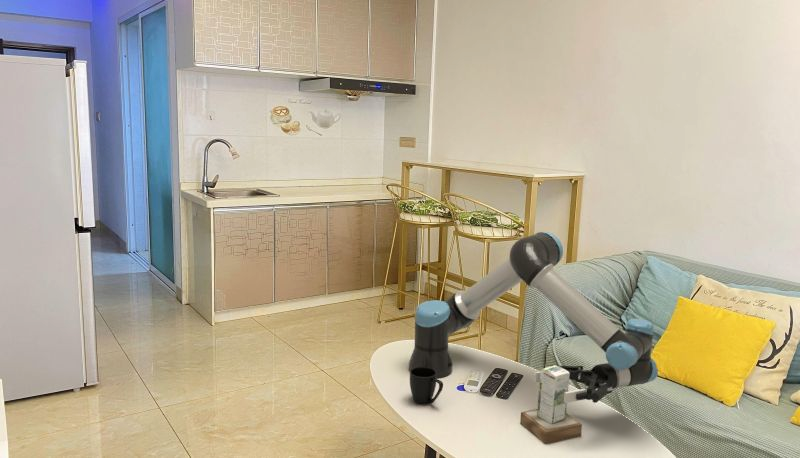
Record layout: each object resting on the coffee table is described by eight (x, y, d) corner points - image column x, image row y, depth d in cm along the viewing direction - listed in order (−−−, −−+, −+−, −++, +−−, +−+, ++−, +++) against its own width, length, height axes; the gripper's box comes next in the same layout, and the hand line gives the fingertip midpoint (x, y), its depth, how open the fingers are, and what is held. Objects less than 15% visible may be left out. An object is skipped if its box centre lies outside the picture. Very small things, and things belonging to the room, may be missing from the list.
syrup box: (550, 411, 175) (553, 363, 172) (566, 419, 170) (570, 371, 167) (536, 416, 172) (539, 368, 169) (552, 425, 167) (556, 375, 164)
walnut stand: (520, 423, 175) (521, 411, 174) (554, 416, 179) (555, 404, 179) (545, 444, 164) (546, 431, 163) (581, 436, 169) (582, 423, 168)
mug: (430, 414, 179) (431, 384, 177) (403, 399, 188) (404, 370, 186) (449, 406, 184) (451, 377, 182) (423, 392, 193) (423, 364, 191)
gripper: (640, 407, 166) (577, 420, 158) (580, 371, 188) (523, 381, 180) (642, 381, 164) (579, 393, 156) (582, 348, 187) (524, 357, 179)
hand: (549, 387), depth 168 cm, fingers open, 13 cm apart
